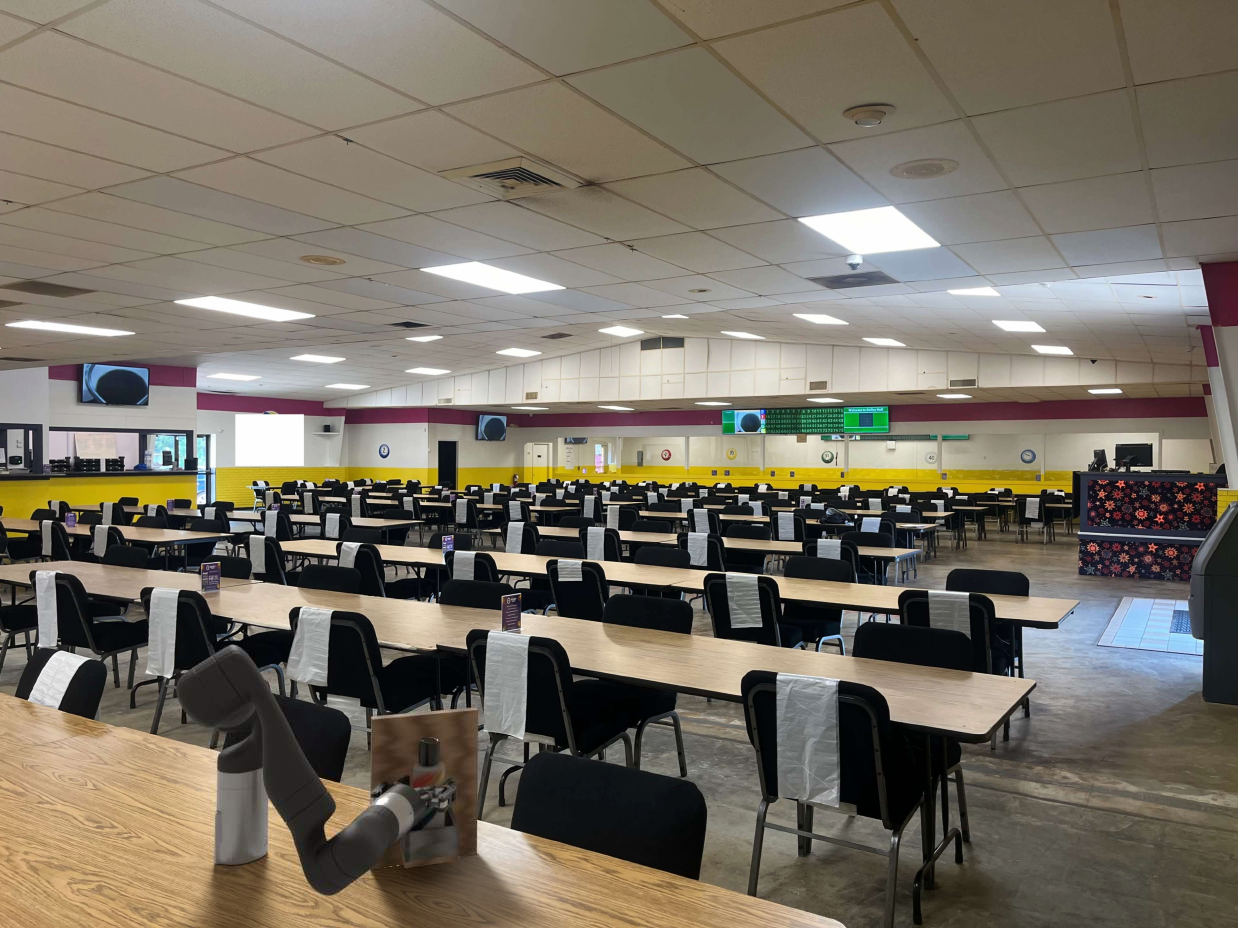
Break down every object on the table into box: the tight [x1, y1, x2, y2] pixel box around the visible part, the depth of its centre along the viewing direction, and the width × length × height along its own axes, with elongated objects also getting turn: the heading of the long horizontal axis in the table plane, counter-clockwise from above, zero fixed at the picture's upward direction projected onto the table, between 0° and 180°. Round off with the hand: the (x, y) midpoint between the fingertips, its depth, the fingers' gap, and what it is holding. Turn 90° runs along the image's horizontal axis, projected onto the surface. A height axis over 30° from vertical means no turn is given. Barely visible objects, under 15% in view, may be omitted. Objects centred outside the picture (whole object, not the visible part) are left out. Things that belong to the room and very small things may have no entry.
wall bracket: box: [369, 706, 479, 871], centre depth 157 cm, size 20×12×28 cm, turn 110°
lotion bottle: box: [413, 738, 445, 831], centre depth 155 cm, size 6×6×20 cm
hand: (429, 781), depth 155 cm, fingers open, 8 cm apart
